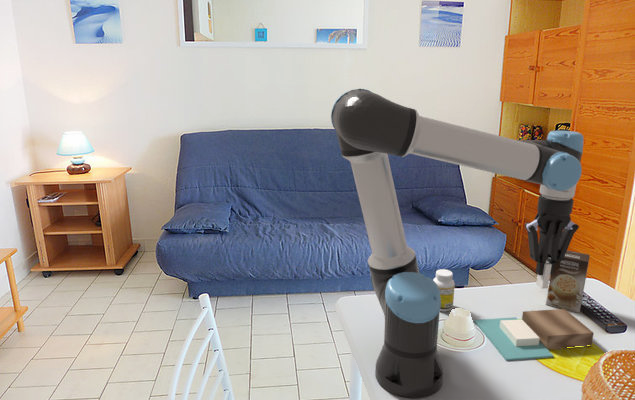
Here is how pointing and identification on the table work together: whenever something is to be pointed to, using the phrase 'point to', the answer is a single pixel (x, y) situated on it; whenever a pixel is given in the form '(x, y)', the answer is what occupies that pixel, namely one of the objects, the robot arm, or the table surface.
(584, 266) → the coffee box
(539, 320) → the wooden block
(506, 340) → the mat
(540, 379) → the table surface
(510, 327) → the cream flat block
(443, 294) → the pill bottle
